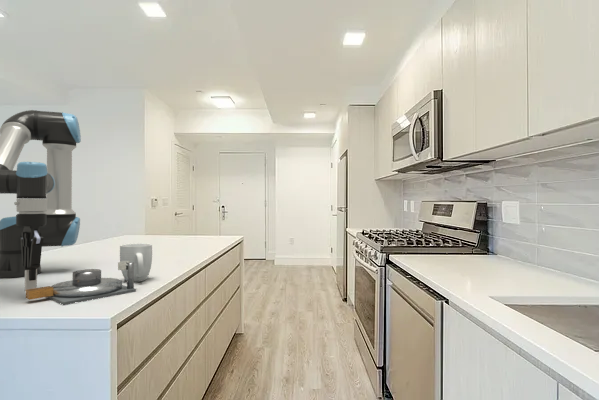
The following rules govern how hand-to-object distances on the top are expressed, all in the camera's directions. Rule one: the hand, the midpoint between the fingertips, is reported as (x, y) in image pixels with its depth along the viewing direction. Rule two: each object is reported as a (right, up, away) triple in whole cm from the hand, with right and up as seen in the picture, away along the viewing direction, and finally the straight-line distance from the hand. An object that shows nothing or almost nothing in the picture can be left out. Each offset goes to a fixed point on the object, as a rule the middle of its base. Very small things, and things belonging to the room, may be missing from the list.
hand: (30, 290), depth 114 cm
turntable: (+12, -1, +3) cm, 13 cm away
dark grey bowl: (+14, +1, +6) cm, 15 cm away
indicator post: (+25, -2, +8) cm, 26 cm away
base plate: (+14, -2, +6) cm, 15 cm away
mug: (+22, -2, +24) cm, 32 cm away
